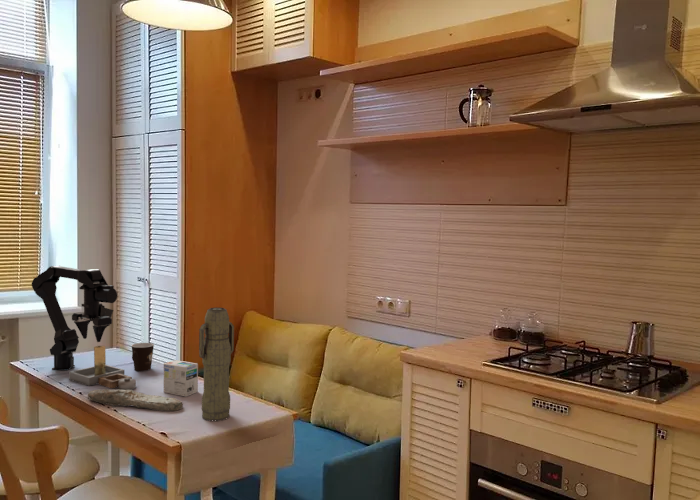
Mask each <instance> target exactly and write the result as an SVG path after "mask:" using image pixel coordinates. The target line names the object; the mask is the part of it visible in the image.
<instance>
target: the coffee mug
mask: <svg viewBox="0 0 700 500" xmlns="http://www.w3.org/2000/svg"><path fill="white" fill-rule="evenodd" d="M154 347H155V344H154V343H151V342H136V343H133V344H131V351H132V352H131V353H132V355H131V359H132V363H133V369H134V371H136V372H148V371H150V370H151V369H152V362H153V354H154Z"/></svg>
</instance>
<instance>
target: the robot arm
mask: <svg viewBox="0 0 700 500" xmlns="http://www.w3.org/2000/svg"><path fill="white" fill-rule="evenodd" d="M60 278H64V279H70V280H75V281H77V282H79V283H80V284H82V285H81V286H80V287H79V290H83V303H81V307H83V311H81V312H80V311H79V312H73V313H72V315H71V321H73V323H74V324H75V325H76V327H77V329H78V330H79V333H80V335H81V337H82V338H83V339H84V340H86V339H87V337H88V330H89V324H90V323H91V322H92V324H93V325H92V329H93V333H94V336H95V339H96V342H97V343H100V342H101V341H102V338H103V335H104V332H105V330H106V329H107V328H108V327H110V326H111V325H112V324H113V318H112V317H113V313H114V309H112V308H107V307H106V306H105V305H103V303H107V304H114V303H115V302H116V301H117V300H118V295H119V294H118V292H117V290H116V289H115V287H114V285H109V283H108V282H107V281H106V279H105V277H104V275H103V274H102V272H101V270H100V269H99V268H92V269H79V268H74V267H66V266H61V265H51V266H49V267H48V268H47V269H46V270H44V271H43V272H41V273H40V274H38V275H37V276H36V277H34V278H33V279H32V281H31V289H32V290H33V291H34V294H35V295H37V297H38V298H41V300H42V301H43V302H42V303H43V304H44V308H45V310H46V311H47V316H48V317H49V319H50V320H49V321H51V324H52V326H53V330H54V337H53V342H54V344H53V345H52V347H51V348H50V349H49V353H50V355H51V356H53V367H52V368H51V370H54V371H55V370H56V371H68V370H71V369H72V368H75V367H76V365H75V363H74V362H75V357H74V356H73V354H74V353H75V352H76V351H77V349H78V345H79V343H80V341H79V339H80V337H79V336H78V334H77V330H76V329H75V328H73V329H71V328H70V327H69V326H68V323H67V321H66V318H65V316H64V313H63V311H62V309H61V306H60V303H59V301H58V298H57V296H56V293H57V289H58V287H57V285H56V284H57V283H58V282H59V281H60Z"/></svg>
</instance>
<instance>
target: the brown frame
mask: <svg viewBox="0 0 700 500" xmlns="http://www.w3.org/2000/svg"><path fill="white" fill-rule="evenodd" d="M98 385H100V386H102V387H106V388H109V389H111V390H114V389H116V388H118V389H120V390H133V389H136V388H137V380H136V379H135V378H133V376H129V375H126V374H124V375H123V374H119V373H117V374H113V375H108V376H104V377H100V378H99V384H98Z"/></svg>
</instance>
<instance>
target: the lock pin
mask: <svg viewBox="0 0 700 500" xmlns="http://www.w3.org/2000/svg"><path fill="white" fill-rule="evenodd" d="M106 356H107V355H106V346H105V345H95V346H94V347H93V361H94V362H93V363H94V366H93V367H94V376H97V375H101V374H106V365H107V364H106V361H107V359H106V358H107V357H106Z"/></svg>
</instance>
